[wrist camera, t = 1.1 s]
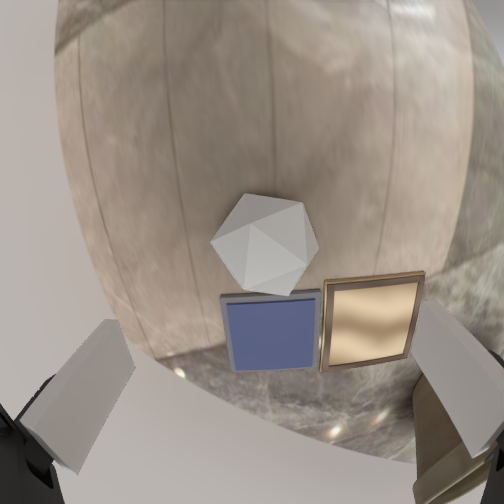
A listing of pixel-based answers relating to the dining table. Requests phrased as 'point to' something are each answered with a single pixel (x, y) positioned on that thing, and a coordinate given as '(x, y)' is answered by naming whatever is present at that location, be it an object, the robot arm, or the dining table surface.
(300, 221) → the die
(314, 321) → the ink pad
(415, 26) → the dining table surface
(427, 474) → the plant pot
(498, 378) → the robot arm
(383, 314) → the board
